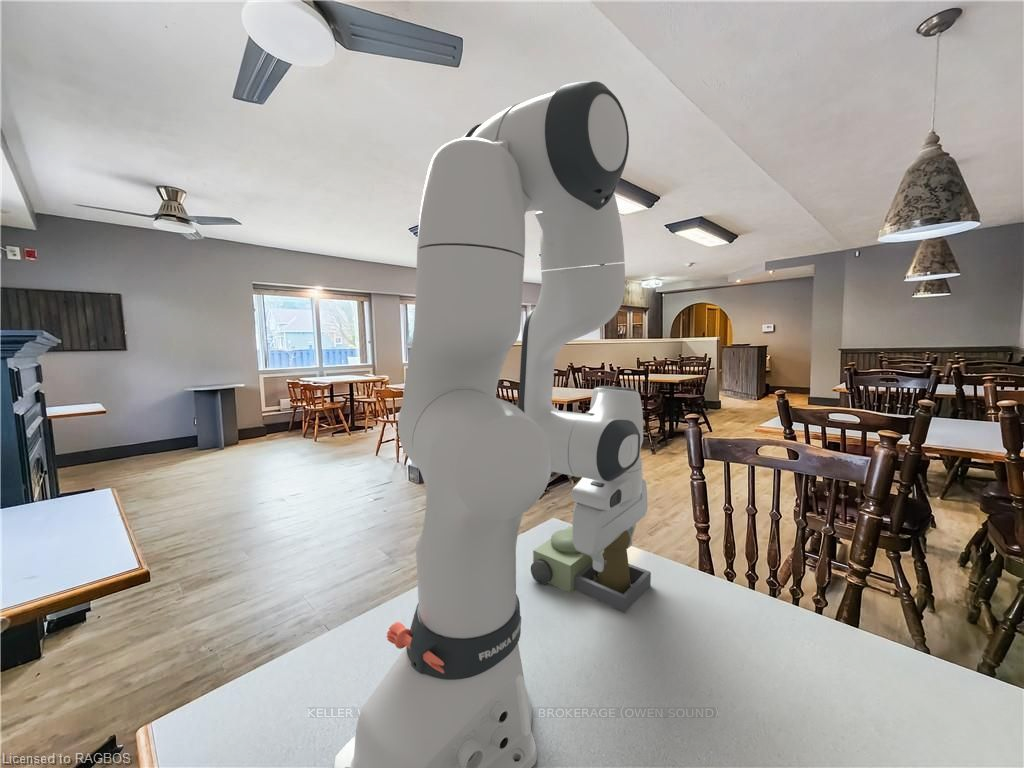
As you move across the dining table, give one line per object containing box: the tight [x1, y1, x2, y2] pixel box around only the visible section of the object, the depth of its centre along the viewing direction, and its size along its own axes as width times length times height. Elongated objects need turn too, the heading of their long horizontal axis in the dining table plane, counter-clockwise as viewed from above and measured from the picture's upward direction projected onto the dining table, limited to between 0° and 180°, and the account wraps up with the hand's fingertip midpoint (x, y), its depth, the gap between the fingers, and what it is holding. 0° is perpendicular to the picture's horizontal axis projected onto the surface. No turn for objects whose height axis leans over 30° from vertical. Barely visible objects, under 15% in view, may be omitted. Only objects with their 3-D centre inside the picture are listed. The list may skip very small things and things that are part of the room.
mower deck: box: [530, 526, 652, 614], centre depth 77 cm, size 14×18×6 cm
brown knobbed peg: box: [596, 530, 632, 594], centre depth 74 cm, size 6×6×11 cm
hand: (613, 557), depth 74 cm, fingers open, 8 cm apart
